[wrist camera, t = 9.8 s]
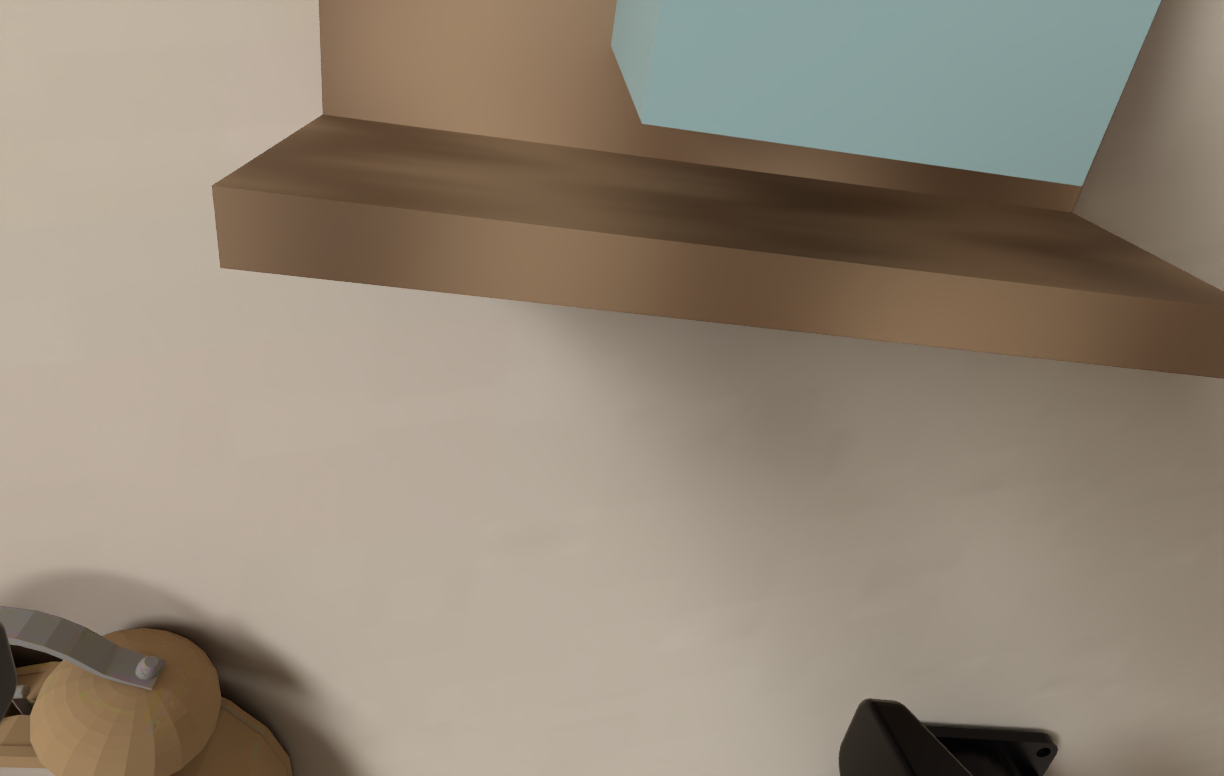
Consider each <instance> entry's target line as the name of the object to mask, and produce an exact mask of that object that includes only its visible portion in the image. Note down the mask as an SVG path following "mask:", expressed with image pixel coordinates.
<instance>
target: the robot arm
mask: <svg viewBox="0 0 1224 776" xmlns="http://www.w3.org/2000/svg"><path fill="white" fill-rule="evenodd" d="M16 687H17V672H16V668H15V664H14V660H13V656H12V652H11V649H10V645H9V641H8V637H7V633H6V629H5V627H4V625H3V624H2V623H1V622H0V723H1V721H2V719H3V717H4V715H5V713H6V711H7V710H8V708H9V706H10V704H11V702H12V700H13V697H14V694H15V691H16ZM1057 751H1058V748H1057V746H1056V744H1055V742H1054V741H1053V739H1052V738H1051V736H1049V735H1048V734H1044V733H1030V732H1013V731H996V730H979V729H962V728H945V727H928V726H924V725H923V724H922V723H921V722H920V721H919V720H918V719H917V718H916V717H915V716H914V715H913V714H912V713H911V712H910V711H909V710H908V709H907V708H906V707H905V706H904V705H903V704H901V703H899V702H897V701H892V700H881V699H870V698H869V699H865V700H863V701H862V702H861V703H860V704H859V706H858V708H857V710H856V712H855V715H854V717H853V719H852V721H851V723H850V726H849V728H848V730H847V732H846V734H845V737H844V739H843V741H842V743H841V746H840V751H839V770H840V776H1043V775H1044V773H1045V772H1046V770H1047V768H1048V767H1049V765H1050V763H1051V762H1052V760H1053V759H1054V757H1055V755H1056V754H1057Z"/></svg>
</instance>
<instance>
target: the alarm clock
mask: <svg viewBox="0 0 1224 776" xmlns="http://www.w3.org/2000/svg"><path fill="white" fill-rule="evenodd" d="M0 622H1V623H2V624H3V625H4V627H5V629H6V633H7V637H8V641H9V644H10V645H18V646H22V647H26V648H30V649H34V650H37V651H41V652H45V653H48V654H50V655H53V656H55V657H58V658H61V659H63V661H62V662H48V663H42V664H36V665H30V666H24V667H18V668H16V672H17V687H16V691H15V694H14V697H13V700H12V702H11V704H10V706H9V708H8V710H7V711H6V713H5V715H4V717H3V719H2V721H1V723H0V776H293V774H292V768H291V762H290V757H289V756H288V755H287V753H286V752H285V751H284V749H283V748H282V747H281V745H280V744H279V743H278V741H277V740H276V738H275V737H274V736H273V734H272V733H271V732H270V730H269V729H268V728H267V727H266V726H264V725H263V724H262V723H260V722H259V721H257V720H256V719H255V718H253V717H252V716H251V715H249V714H248V713H246V712H245V711H244V710H242V709H241V708H239V707H238V706H237V705H235V704H234V703H232V702H231V701H230V700H228V699H225V698H223V697H221V692H220V686H219V679H218V673H217V671H216V669H215V668H214V666H213V664H212V663H211V661H210V659H209V658H208V656H207V655H206V653H205V652H204V651H203V650H202V649H200V648H199V647H198V646H197V645H195V644H194V643H193V642H192V641H190V640H189V639H188V638H185V637H182V636H180V635H177V634H175V633H172V632H169V631H167V630H158V629H149V628H137V629H129V630H120V631H115V632H113V633H110V634H107V635H104V636H100V635H98V634H97V633H95V632H93V631H91V630H89V629H87V628H86V627H83V626H81V625H78V624H76V623H73V622H71V621H68V620H66V619H63V618H60V617H57V616H53V615H49V614H46V613H42V612H39V611H35V610H27V609H19V608H11V607H3V606H0Z"/></svg>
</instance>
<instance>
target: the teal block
mask: <svg viewBox="0 0 1224 776" xmlns="http://www.w3.org/2000/svg"><path fill="white" fill-rule="evenodd" d="M1160 2H1161V0H617V3H616V11H615V18H614V26H613V33H612V41H611V47H612V50H613V52H614V55H615V57H616V60H617V62H618V65H619V67H620V70H621V72H622V75H623V77H624V80H625V82H626V85H627V87H628V90H629V92H630V95H631V98H632V100H633V103H634V105H635V108H636V110H637V113H638V115H639V118H640V120H641V123H642V124H648V125H655V126H662V127H669V128H676V129H683V130H690V131H697V132H704V133H711V134H718V135H725V136H732V137H739V138H746V139H753V140H760V141H767V142H774V143H781V144H788V145H795V146H802V147H810V148H817V149H824V150H831V151H838V152H845V153H852V154H859V155H866V156H873V157H880V158H887V159H894V160H901V161H908V162H915V163H922V164H929V165H936V166H943V167H950V168H957V169H964V170H971V171H978V172H985V173H992V174H999V175H1006V176H1013V177H1020V178H1027V179H1034V180H1041V181H1048V182H1055V183H1062V184H1069V185H1076V186H1082V185H1083V182H1084V180H1085V178H1086V175H1087V173H1088V171H1089V168H1090V166H1091V164H1092V161H1093V159H1094V157H1095V154H1096V152H1097V150H1098V147H1099V145H1100V143H1101V140H1102V138H1103V136H1104V133H1105V131H1106V129H1107V126H1108V124H1109V122H1110V119H1111V117H1112V115H1113V112H1114V110H1115V108H1116V105H1117V103H1118V101H1119V98H1120V96H1121V94H1122V91H1123V89H1124V87H1125V84H1126V82H1127V79H1128V77H1129V75H1130V72H1131V70H1132V68H1133V65H1134V63H1135V61H1136V58H1137V56H1138V54H1139V51H1140V49H1141V47H1142V44H1143V42H1144V40H1145V37H1146V35H1147V33H1148V30H1149V28H1150V26H1151V23H1152V21H1153V19H1154V16H1155V14H1156V12H1157V9H1158V7H1159V5H1160Z"/></svg>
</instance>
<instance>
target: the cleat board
mask: <svg viewBox="0 0 1224 776" xmlns="http://www.w3.org/2000/svg"><path fill="white" fill-rule="evenodd" d="M616 3H617V0H319V17H320V45H321V73H322V102H323V115H321V116H320V117H318V118H317V119H315V120H314V121H312V122H310V123H309V124H307V125H306V126H304V127H303V128H301V129H300V130H298V131H296V132H295V133H293V134H292V135H290V136H289V137H287V138H286V139H284V140H282V141H281V142H279V143H278V144H276V145H275V146H273V147H272V148H270V149H268V150H267V151H265V152H264V153H262V154H261V155H259V156H258V157H256V158H254V159H253V160H251V161H250V162H248V163H247V164H245V165H243V166H242V167H240V168H239V169H237V170H236V171H234V172H233V173H231V174H229V175H228V176H226V177H225V178H223V179H222V180H220V181H219V182H217V183H215V184H214V185H212V191H213V200H214V210H215V220H216V229H217V239H218V249H219V258H220V268H227V269H236V270H245V271H254V272H263V273H272V274H281V275H290V276H299V277H308V278H317V279H326V280H335V281H345V282H354V283H363V284H372V285H381V286H390V287H399V288H408V289H417V290H426V291H435V292H444V293H453V294H462V295H471V296H480V297H489V298H499V299H508V300H517V301H526V302H535V303H544V304H553V305H562V306H571V307H580V308H589V309H598V310H607V311H616V312H625V313H634V314H643V315H652V316H662V317H671V318H680V319H689V320H698V321H707V322H716V323H725V324H734V325H743V326H752V327H761V328H770V329H779V330H788V331H797V332H806V333H816V334H825V335H834V336H843V337H852V338H861V339H870V340H879V341H888V342H897V343H906V344H915V345H924V346H933V347H942V348H951V349H960V350H969V351H979V352H988V353H997V354H1006V355H1015V356H1024V357H1033V358H1042V359H1051V360H1060V361H1069V362H1078V363H1087V364H1096V365H1105V366H1114V367H1123V368H1133V369H1142V370H1151V371H1160V372H1169V373H1178V374H1187V375H1196V376H1205V377H1214V378H1223V379H1224V292H1223V291H1221V290H1219V289H1217V288H1215V287H1213V286H1212V285H1210V284H1208V283H1206V282H1204V281H1202V280H1200V279H1198V278H1196V277H1194V276H1192V275H1190V274H1189V273H1187V272H1185V271H1183V270H1181V269H1179V268H1177V267H1175V266H1173V265H1171V264H1169V263H1167V262H1165V261H1164V260H1162V259H1160V258H1158V257H1156V256H1154V255H1152V254H1150V253H1148V252H1146V251H1144V250H1142V249H1141V248H1139V247H1137V246H1135V245H1133V244H1131V243H1129V242H1127V241H1125V240H1123V239H1121V238H1119V237H1117V236H1116V235H1114V234H1112V233H1110V232H1108V231H1106V230H1104V229H1102V228H1100V227H1098V226H1096V225H1094V224H1093V223H1091V222H1089V221H1087V220H1085V219H1083V218H1081V217H1079V216H1077V215H1075V214H1073V213H1072V211H1073V209H1074V206H1075V204H1076V202H1077V199H1078V197H1079V194H1080V192H1081V190H1082V187H1083V185H1084V183H1085V180H1086V178H1087V175H1088V173H1089V171H1090V168H1091V166H1092V164H1093V161H1094V159H1095V157H1094V159H1093V161H1092V164H1091V166H1090V168H1089V171H1088V173H1087V175H1086V178H1085V180H1084V182H1083V185H1082V186H1076V185H1069V184H1062V183H1055V182H1048V181H1041V180H1034V179H1027V178H1020V177H1013V176H1006V175H999V174H992V173H985V172H978V171H971V170H964V169H957V168H950V167H943V166H936V165H929V164H922V163H915V162H908V161H901V160H894V159H887V158H880V157H873V156H866V155H859V154H852V153H845V152H838V151H831V150H824V149H817V148H810V147H802V146H795V145H788V144H781V143H774V142H767V141H760V140H753V139H746V138H739V137H732V136H725V135H718V134H711V133H704V132H697V131H690V130H683V129H676V128H669V127H662V126H655V125H648V124H642V123H641V120H640V118H639V115H638V113H637V110H636V108H635V105H634V103H633V100H632V98H631V95H630V92H629V90H628V87H627V85H626V82H625V80H624V77H623V75H622V72H621V70H620V67H619V65H618V62H617V60H616V57H615V55H614V52H613V50H612V47H611V41H612V33H613V26H614V18H615V11H616ZM1151 24H1152V23H1151ZM1148 31H1149V30H1148ZM1145 38H1146V37H1145ZM1143 43H1144V42H1143ZM1142 45H1143V44H1142ZM1140 50H1141V49H1140ZM1139 52H1140V51H1139ZM1137 57H1138V56H1137ZM1136 59H1137V58H1136ZM1135 62H1136V61H1135ZM1134 64H1135V63H1134ZM1133 66H1134V65H1133ZM1132 69H1133V68H1132ZM1131 71H1132V70H1131ZM1130 73H1131V72H1130ZM1129 76H1130V75H1129ZM1128 78H1129V77H1128ZM1127 81H1128V79H1127ZM1126 83H1127V82H1126ZM1125 85H1126V84H1125ZM1124 88H1125V87H1124ZM1123 90H1124V89H1123ZM1122 92H1123V91H1122ZM1121 95H1122V94H1121ZM1120 97H1121V96H1120ZM1119 100H1120V98H1119ZM1118 102H1119V101H1118ZM1117 104H1118V103H1117ZM1116 107H1117V105H1116ZM1115 109H1116V108H1115ZM1114 111H1115V110H1114ZM1113 114H1114V112H1113ZM1112 116H1113V115H1112ZM1111 119H1112V117H1111ZM1111 119H1110V121H1111ZM1109 123H1110V122H1109ZM1108 126H1109V124H1108ZM1108 126H1107V128H1108ZM1106 130H1107V129H1106ZM1105 133H1106V131H1105ZM1105 133H1104V135H1105ZM1103 138H1104V136H1103ZM1103 138H1102V140H1103ZM1102 140H1101V142H1102ZM1100 145H1101V143H1100ZM1100 145H1099V147H1100ZM1099 147H1098V149H1099ZM1097 152H1098V150H1097ZM1097 152H1096V154H1097ZM1096 154H1095V156H1096Z"/></svg>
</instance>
